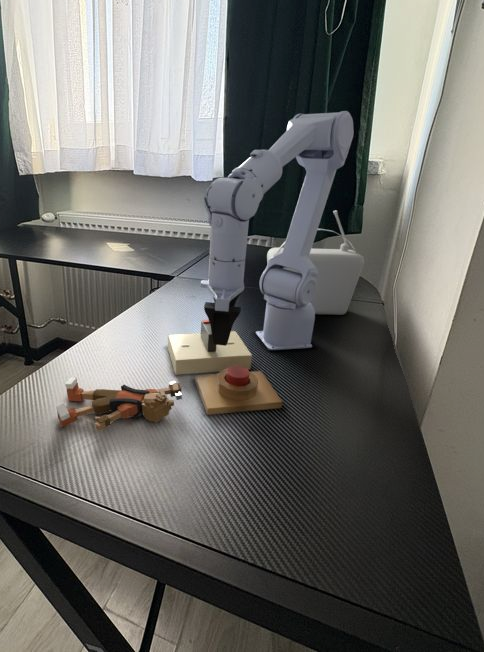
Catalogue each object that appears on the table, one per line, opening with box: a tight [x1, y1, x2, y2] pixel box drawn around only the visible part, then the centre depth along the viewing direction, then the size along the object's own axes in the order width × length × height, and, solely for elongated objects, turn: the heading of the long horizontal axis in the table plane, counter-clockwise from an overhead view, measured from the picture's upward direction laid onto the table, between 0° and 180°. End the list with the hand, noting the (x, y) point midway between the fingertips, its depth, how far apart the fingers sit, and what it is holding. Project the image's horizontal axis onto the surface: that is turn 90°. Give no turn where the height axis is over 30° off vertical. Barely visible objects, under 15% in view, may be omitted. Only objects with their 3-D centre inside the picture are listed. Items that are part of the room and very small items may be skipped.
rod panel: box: [167, 330, 253, 376], centre depth 72 cm, size 14×10×3 cm
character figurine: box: [56, 376, 183, 432], centre depth 56 cm, size 12×5×18 cm
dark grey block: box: [200, 319, 216, 352], centre depth 71 cm, size 6×2×4 cm, turn 9°
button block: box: [194, 369, 283, 416], centre depth 61 cm, size 12×9×3 cm
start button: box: [226, 366, 250, 386], centre depth 61 cm, size 4×4×2 cm
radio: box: [266, 209, 365, 316], centre depth 92 cm, size 22×8×25 cm, turn 88°
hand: (221, 333), depth 65 cm, fingers open, 7 cm apart
